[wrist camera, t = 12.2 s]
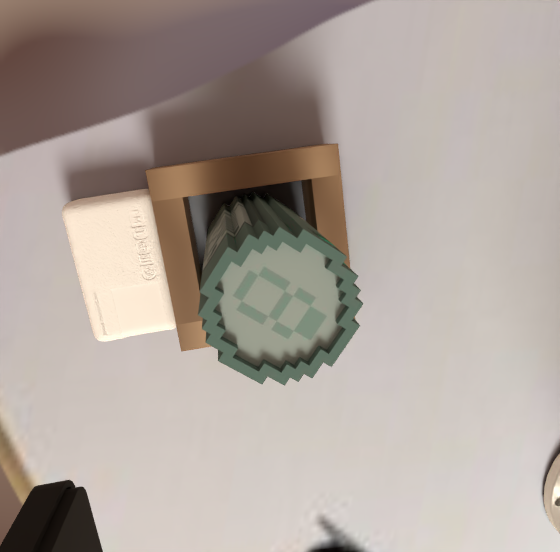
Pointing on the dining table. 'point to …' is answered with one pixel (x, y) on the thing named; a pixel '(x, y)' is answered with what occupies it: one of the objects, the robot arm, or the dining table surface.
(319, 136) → the dining table surface
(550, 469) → the robot arm
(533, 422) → the dining table surface
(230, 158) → the socket
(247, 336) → the can
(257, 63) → the dining table surface
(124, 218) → the soap
